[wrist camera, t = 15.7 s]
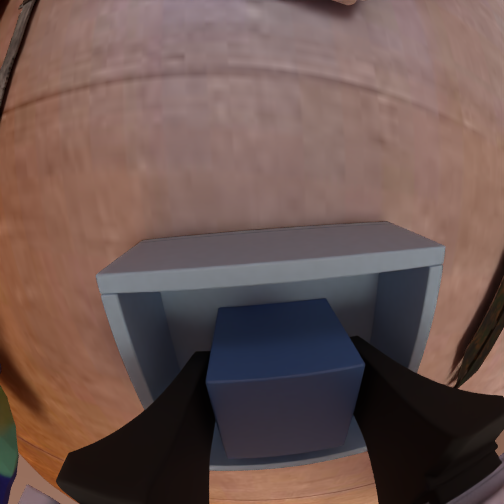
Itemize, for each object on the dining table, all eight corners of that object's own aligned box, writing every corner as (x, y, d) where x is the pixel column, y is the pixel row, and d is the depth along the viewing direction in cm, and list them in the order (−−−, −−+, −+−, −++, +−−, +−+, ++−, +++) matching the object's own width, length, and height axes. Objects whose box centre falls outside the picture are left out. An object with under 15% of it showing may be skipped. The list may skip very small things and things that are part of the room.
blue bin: (362, 396, 13) (385, 445, 9) (188, 413, 13) (177, 468, 9) (387, 221, 10) (446, 245, 7) (142, 239, 10) (94, 274, 7)
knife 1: (27, -33, 3) (57, -52, 3) (32, -30, 4) (61, -49, 4) (-22, 172, 8) (2, 158, 8) (-14, 170, 9) (11, 158, 9)
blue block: (320, 375, 12) (344, 445, 8) (230, 384, 12) (226, 459, 8) (326, 297, 11) (366, 364, 6) (217, 306, 11) (204, 381, 6)
